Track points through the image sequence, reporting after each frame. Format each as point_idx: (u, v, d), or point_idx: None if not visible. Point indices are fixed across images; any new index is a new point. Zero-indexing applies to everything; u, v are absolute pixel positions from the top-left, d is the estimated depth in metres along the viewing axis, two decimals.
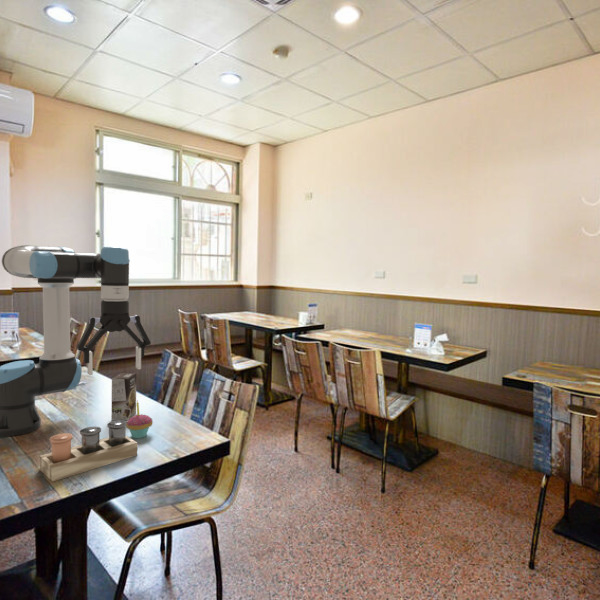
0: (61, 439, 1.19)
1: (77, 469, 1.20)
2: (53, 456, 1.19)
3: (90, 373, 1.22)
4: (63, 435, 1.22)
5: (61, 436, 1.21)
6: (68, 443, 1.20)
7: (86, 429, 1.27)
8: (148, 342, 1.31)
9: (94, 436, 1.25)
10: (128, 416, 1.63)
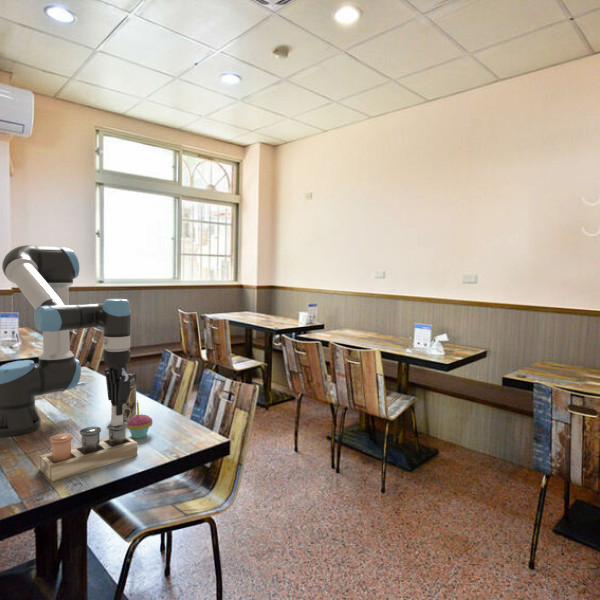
0: (61, 439, 1.19)
1: (77, 469, 1.20)
2: (53, 456, 1.19)
3: (112, 423, 1.32)
4: (63, 435, 1.22)
5: (61, 436, 1.21)
6: (68, 443, 1.20)
7: (86, 429, 1.27)
8: (118, 402, 1.29)
9: (94, 436, 1.25)
10: (128, 416, 1.63)
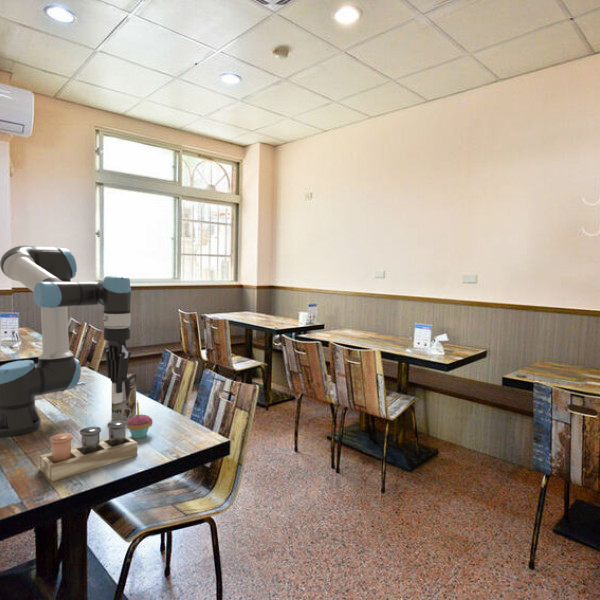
0: (61, 439, 1.19)
1: (77, 469, 1.20)
2: (53, 456, 1.19)
3: (112, 401, 1.31)
4: (63, 435, 1.22)
5: (61, 436, 1.21)
6: (68, 443, 1.20)
7: (86, 429, 1.27)
8: (117, 379, 1.29)
9: (94, 436, 1.25)
10: (128, 416, 1.63)
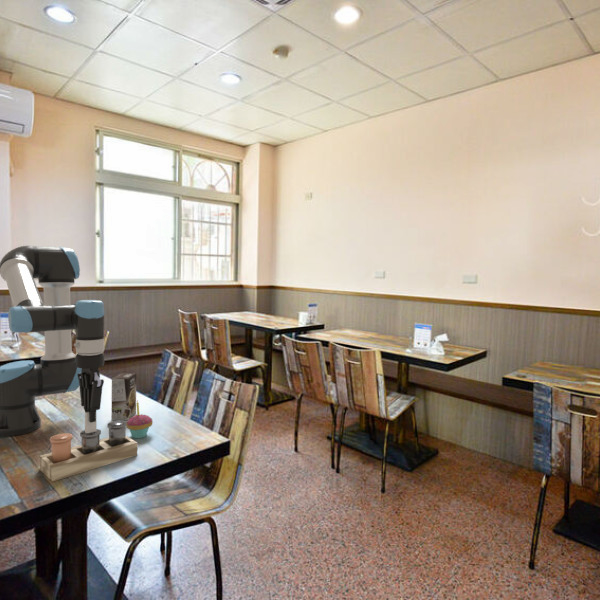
0: (61, 439, 1.19)
1: (77, 469, 1.20)
2: (53, 456, 1.19)
3: (85, 430, 1.26)
4: (63, 435, 1.22)
5: (61, 436, 1.21)
6: (68, 443, 1.20)
7: None
8: (90, 408, 1.23)
9: (94, 438, 1.25)
10: (128, 416, 1.63)
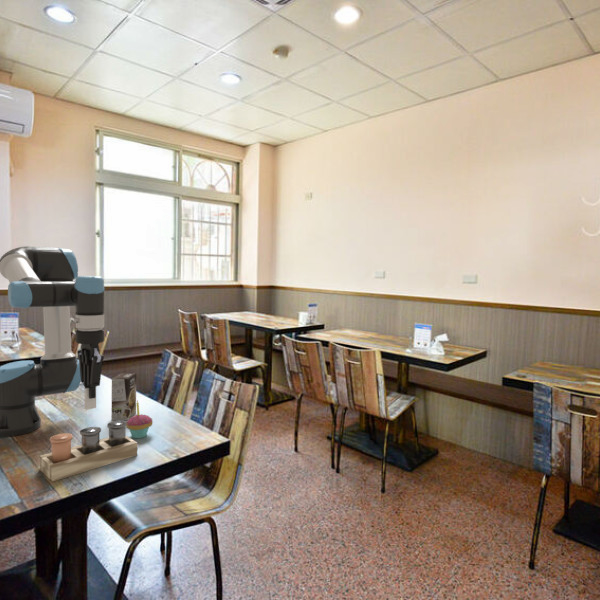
0: (61, 439, 1.19)
1: (77, 469, 1.20)
2: (53, 456, 1.19)
3: (85, 407, 1.26)
4: (63, 435, 1.22)
5: (61, 436, 1.21)
6: (68, 443, 1.20)
7: (86, 429, 1.27)
8: (90, 384, 1.23)
9: (94, 436, 1.25)
10: (128, 416, 1.63)
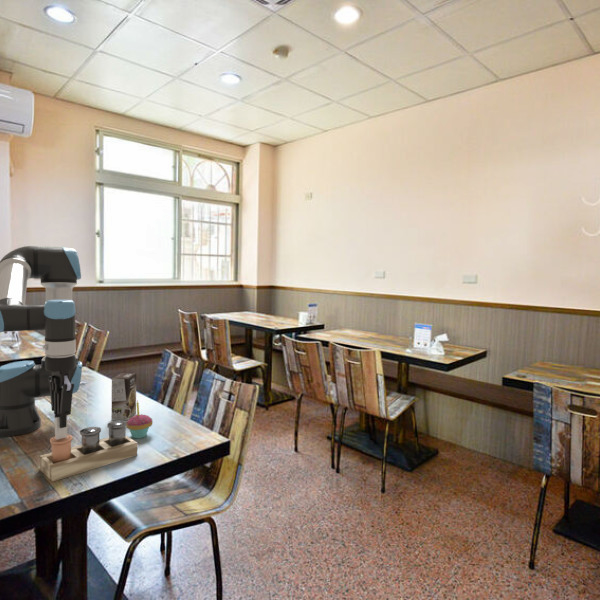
0: (61, 440, 1.19)
1: (77, 469, 1.20)
2: (53, 457, 1.19)
3: (55, 436, 1.20)
4: None
5: None
6: (68, 445, 1.20)
7: (86, 429, 1.27)
8: (60, 413, 1.17)
9: (94, 436, 1.25)
10: (128, 416, 1.63)
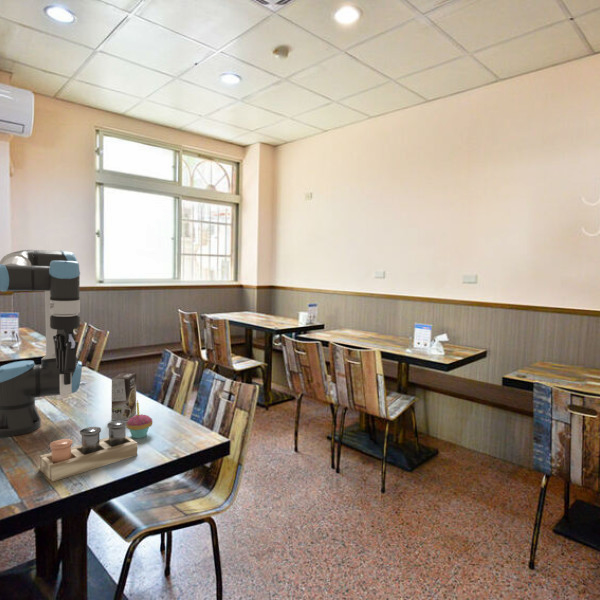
0: (61, 445, 1.19)
1: (77, 469, 1.20)
2: (53, 462, 1.19)
3: (60, 393, 1.24)
4: (63, 440, 1.22)
5: (61, 442, 1.21)
6: (68, 449, 1.20)
7: (86, 429, 1.27)
8: (64, 370, 1.21)
9: (94, 436, 1.25)
10: (128, 416, 1.63)
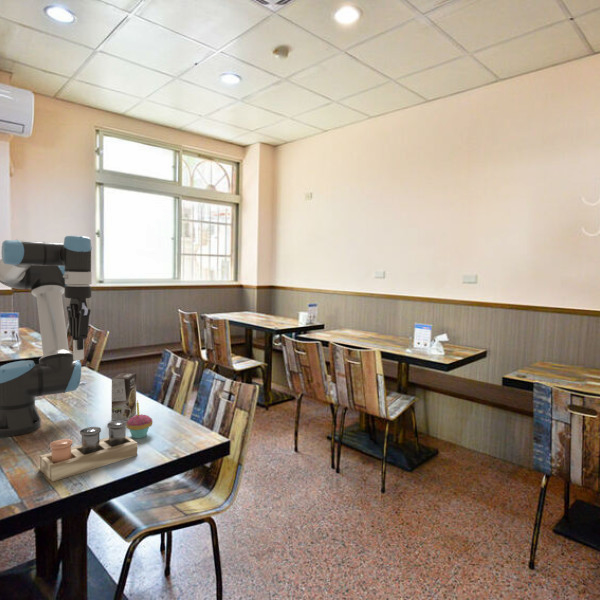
0: (61, 445, 1.19)
1: (77, 469, 1.20)
2: (53, 462, 1.19)
3: (73, 358, 1.36)
4: (63, 440, 1.22)
5: (61, 442, 1.21)
6: (68, 449, 1.20)
7: (86, 429, 1.27)
8: (78, 336, 1.33)
9: (94, 436, 1.25)
10: (128, 416, 1.63)
